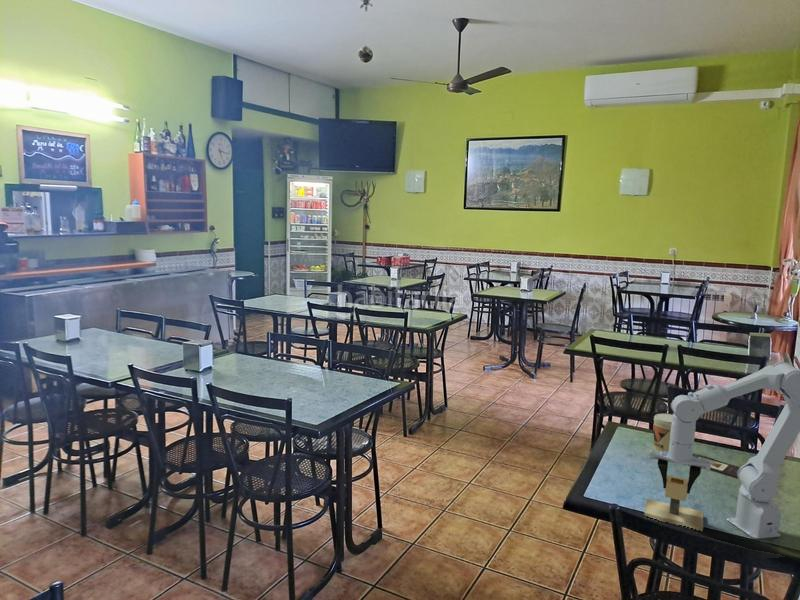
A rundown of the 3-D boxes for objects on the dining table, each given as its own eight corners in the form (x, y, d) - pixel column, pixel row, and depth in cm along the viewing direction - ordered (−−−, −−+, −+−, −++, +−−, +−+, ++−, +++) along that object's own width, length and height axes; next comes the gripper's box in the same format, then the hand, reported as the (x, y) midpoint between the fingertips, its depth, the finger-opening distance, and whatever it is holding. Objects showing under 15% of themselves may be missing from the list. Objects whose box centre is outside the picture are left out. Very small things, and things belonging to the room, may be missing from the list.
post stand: (702, 515, 157) (704, 500, 156) (702, 531, 149) (704, 515, 148) (646, 502, 163) (648, 487, 163) (644, 517, 155) (645, 501, 155)
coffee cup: (645, 446, 204) (648, 413, 202) (668, 445, 206) (672, 412, 204) (661, 457, 195) (665, 423, 193) (686, 456, 197) (690, 422, 195)
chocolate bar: (752, 481, 178) (690, 462, 190) (752, 484, 178) (690, 465, 190) (760, 473, 184) (700, 455, 196) (760, 476, 184) (700, 458, 197)
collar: (686, 493, 156) (687, 479, 156) (685, 501, 152) (687, 487, 151) (665, 489, 159) (667, 475, 158) (664, 496, 154) (666, 482, 154)
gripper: (712, 441, 153) (706, 489, 155) (653, 430, 160) (648, 477, 162) (713, 450, 147) (707, 501, 149) (651, 439, 153) (646, 487, 155)
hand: (676, 489), depth 155 cm, fingers closed on collar, 5 cm apart
